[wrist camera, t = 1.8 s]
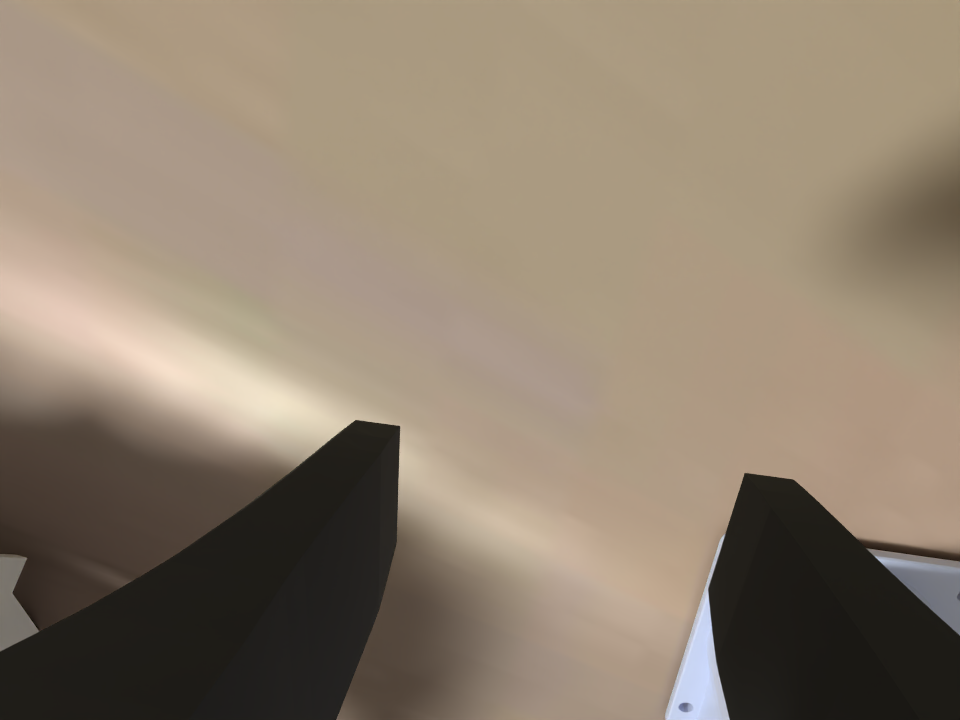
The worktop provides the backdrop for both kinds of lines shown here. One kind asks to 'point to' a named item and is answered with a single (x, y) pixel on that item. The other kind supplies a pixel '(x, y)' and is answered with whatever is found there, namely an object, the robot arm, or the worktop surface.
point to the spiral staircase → (12, 604)
